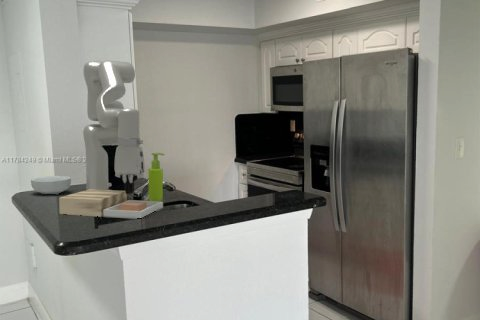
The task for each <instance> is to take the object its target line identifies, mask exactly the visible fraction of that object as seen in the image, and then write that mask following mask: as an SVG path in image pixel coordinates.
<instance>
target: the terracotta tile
mask: <svg viewBox="0 0 480 320" xmlns="http://www.w3.org/2000/svg"><path fill="white" fill-rule="evenodd" d="M127 201H128V200H127ZM144 209H146V202H136V201H128V202H125V203H122V204H120V210H124V211H142V210H144Z"/></svg>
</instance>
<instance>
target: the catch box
mask: <svg viewBox="0 0 480 320" xmlns="http://www.w3.org/2000/svg"><path fill="white" fill-rule="evenodd" d="M128 201H136V202H146V209H144V210H142V211H124V210H120V204H122V203H120V204H117V205H115V206H112V207H110V208H107V209H104V210H103V216H102V217H103V218H112V219H113V218H114V219H115V218H117V219H133V220H134V219H135V220H138V219H137V218H142V217H144V216H146V215H148V214H150V213H152V212H154V211H156V212H158V211H160V210H162V209H164V202H163V201H149V200H135V199H134V200H133V199H130V200H129V199H128V200H127V201H125V202H128ZM125 202H123V203H125ZM154 213H155V212H154ZM152 214H153V213H152ZM150 215H151V214H150ZM148 216H149V215H148ZM146 217H147V216H146ZM144 218H145V217H144ZM142 219H143V218H142Z"/></svg>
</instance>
